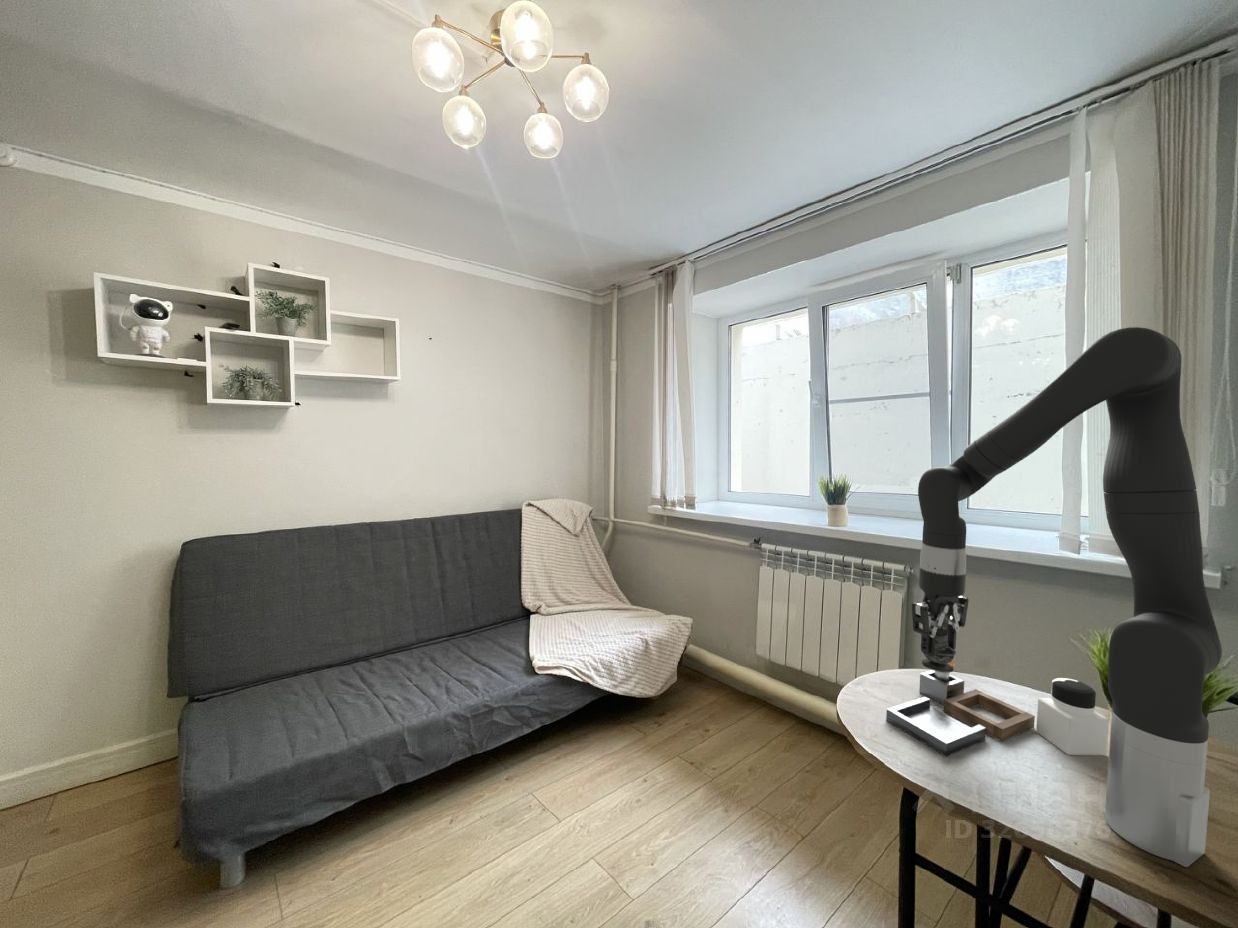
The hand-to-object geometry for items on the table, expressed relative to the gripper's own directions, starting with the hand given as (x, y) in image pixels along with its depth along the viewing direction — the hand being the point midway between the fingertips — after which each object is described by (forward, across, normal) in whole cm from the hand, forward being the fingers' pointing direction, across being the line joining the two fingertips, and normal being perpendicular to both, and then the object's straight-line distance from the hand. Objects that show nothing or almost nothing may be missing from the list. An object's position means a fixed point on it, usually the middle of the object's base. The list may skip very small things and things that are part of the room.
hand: (938, 650), depth 94 cm
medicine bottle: (+17, +20, -13) cm, 29 cm away
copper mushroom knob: (+15, +14, +8) cm, 22 cm away
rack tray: (+16, 0, 0) cm, 16 cm away
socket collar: (+16, +14, -2) cm, 22 cm away
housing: (+16, +14, +8) cm, 23 cm away
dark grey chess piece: (+3, 0, 0) cm, 3 cm away
